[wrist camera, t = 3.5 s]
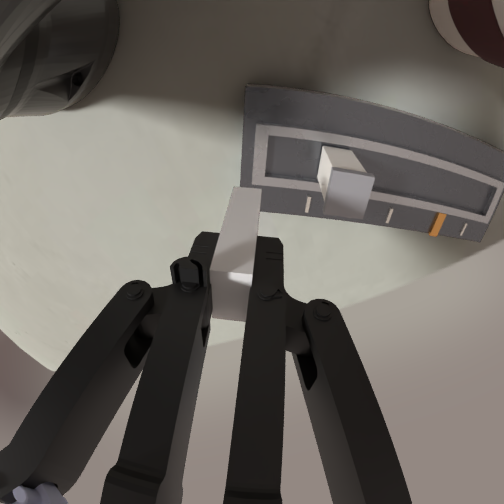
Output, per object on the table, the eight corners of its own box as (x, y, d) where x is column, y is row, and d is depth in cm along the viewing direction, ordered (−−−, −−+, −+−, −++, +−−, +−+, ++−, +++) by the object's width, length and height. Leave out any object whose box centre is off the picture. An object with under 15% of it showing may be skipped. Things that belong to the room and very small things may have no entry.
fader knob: (314, 178, 23) (323, 214, 18) (320, 143, 21) (333, 170, 16) (346, 183, 23) (362, 219, 18) (354, 148, 21) (375, 177, 16)
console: (241, 199, 27) (238, 213, 25) (248, 83, 20) (244, 86, 18) (472, 232, 27) (482, 245, 25) (504, 152, 20) (518, 162, 17)
